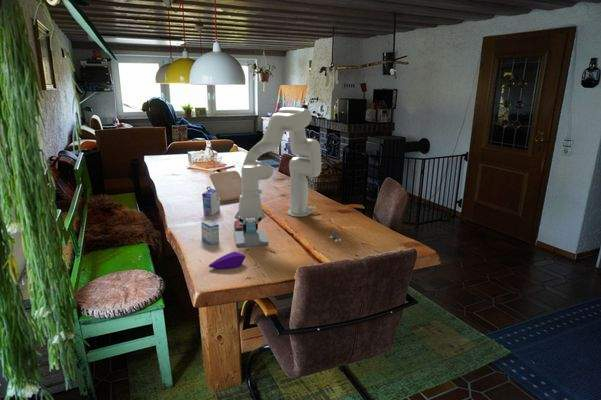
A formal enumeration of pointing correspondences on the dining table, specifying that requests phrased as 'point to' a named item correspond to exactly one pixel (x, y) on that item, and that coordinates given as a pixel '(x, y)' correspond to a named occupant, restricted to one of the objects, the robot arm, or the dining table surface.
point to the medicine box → (210, 232)
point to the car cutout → (335, 236)
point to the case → (227, 185)
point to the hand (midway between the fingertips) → (250, 231)
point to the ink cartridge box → (211, 201)
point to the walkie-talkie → (238, 225)
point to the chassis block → (250, 238)
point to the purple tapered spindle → (228, 261)
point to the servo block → (250, 226)
